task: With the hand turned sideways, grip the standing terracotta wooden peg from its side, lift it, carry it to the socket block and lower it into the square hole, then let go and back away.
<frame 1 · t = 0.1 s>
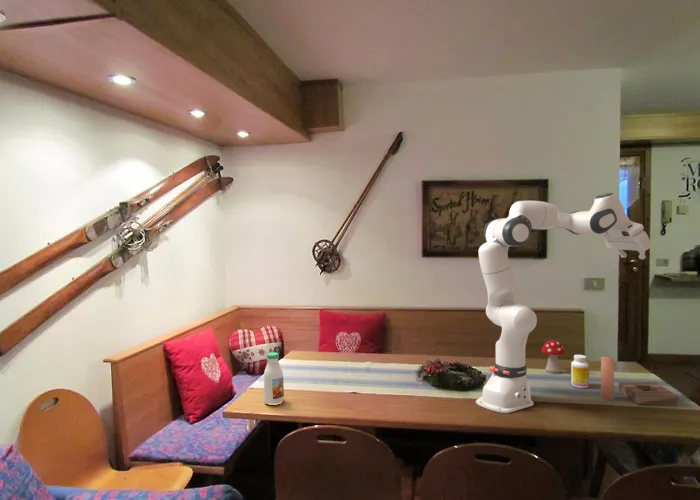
hand: (633, 257, 183), 54 cm above the table, tool tilted 30°, fingers open, 8 cm apart
peg: (607, 398, 174), on the table
decorative mushroom: (553, 372, 206), on the table
supplement bottle: (580, 386, 187), on the table
milk bottle: (274, 403, 178), on the table
socket: (646, 398, 173), on the table
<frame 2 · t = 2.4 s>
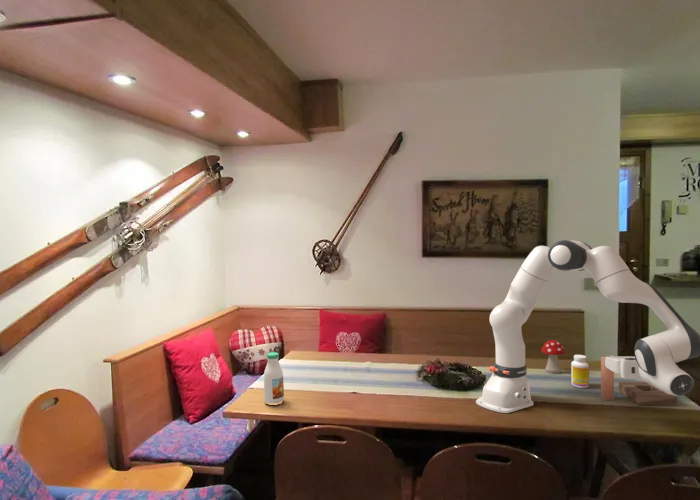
hand: (625, 357, 161), 20 cm above the table, tool horizontal, fingers open, 8 cm apart
nothing on the table moved.
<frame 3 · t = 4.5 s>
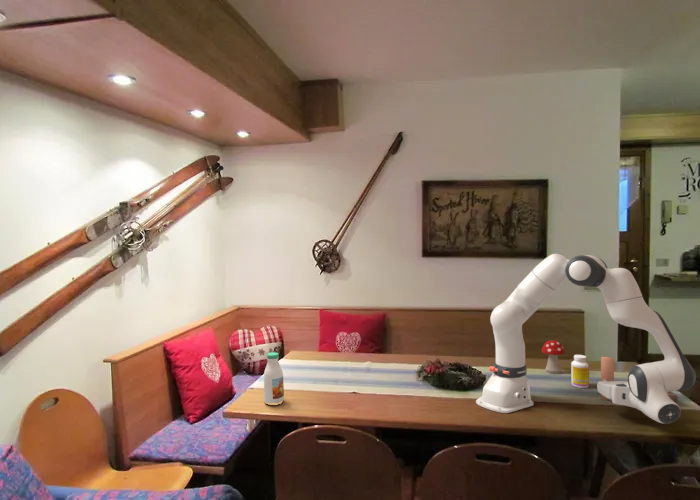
hand: (617, 381, 166), 9 cm above the table, tool horizontal, fingers open, 8 cm apart
nothing on the table moved.
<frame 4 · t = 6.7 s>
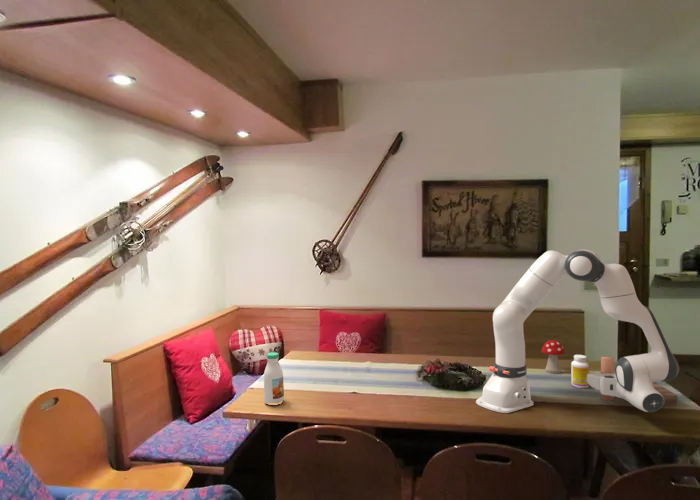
hand: (606, 373, 174), 10 cm above the table, tool horizontal, fingers closed on peg, 4 cm apart
peg: (607, 398, 174), on the table, touching gripper
everything else where it was.
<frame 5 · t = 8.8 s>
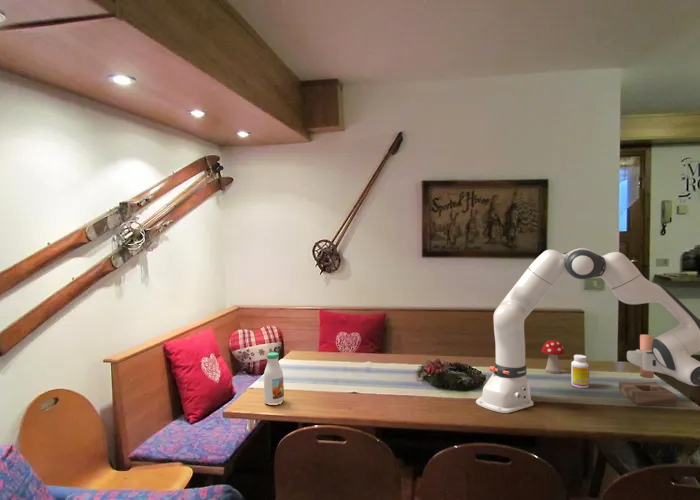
hand: (645, 351, 173), 18 cm above the table, tool horizontal, fingers closed on peg, 4 cm apart
peg: (646, 376, 172), point 9 cm above the table, touching gripper
everything else where it was.
when the fingers open (11 cm above the table, at t = 10.9 s): peg drops 1 cm, resting in socket.
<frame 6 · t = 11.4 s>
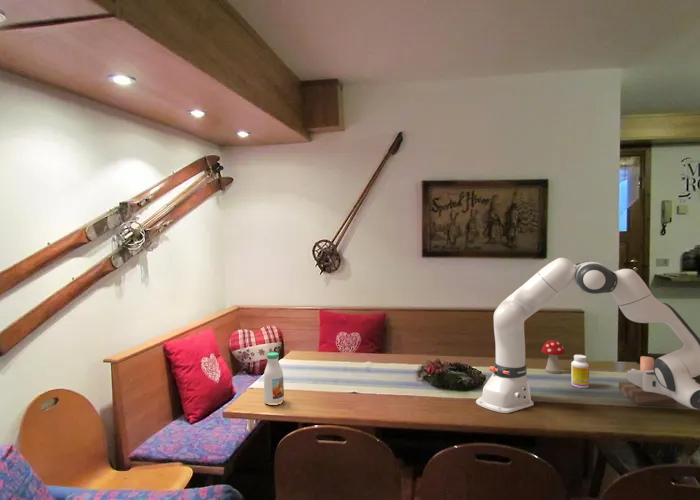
hand: (645, 370, 173), 11 cm above the table, tool horizontal, fingers open, 8 cm apart
peg: (646, 398, 173), resting in socket
everything else where it was.
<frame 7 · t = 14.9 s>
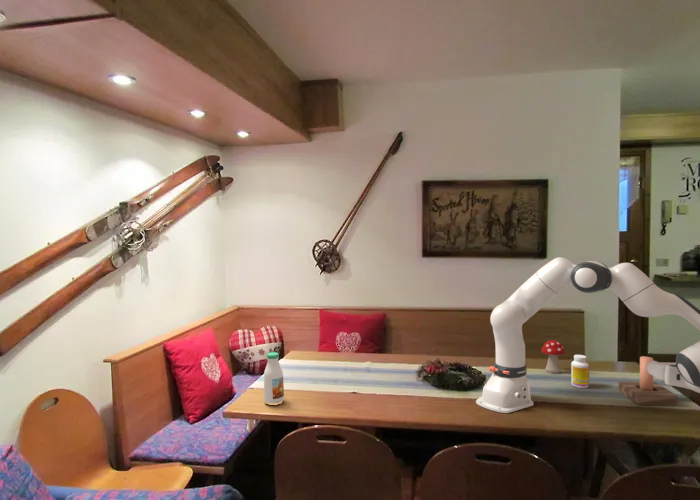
hand: (666, 363, 160), 18 cm above the table, tool horizontal, fingers open, 8 cm apart
nothing on the table moved.
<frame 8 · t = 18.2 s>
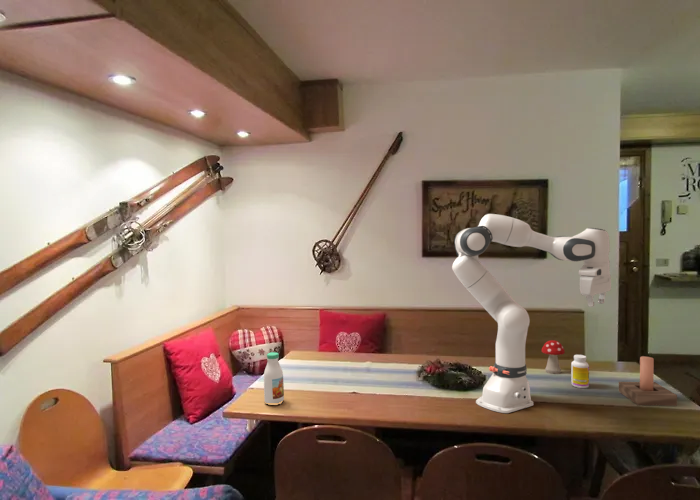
hand: (596, 304, 172), 37 cm above the table, tool pointing down, fingers open, 8 cm apart
nothing on the table moved.
at the end: peg 0.1 cm off-centre on the socket, point 0.0 cm above the socket's base; peg tilted 0°; the gripper is holding nothing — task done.
